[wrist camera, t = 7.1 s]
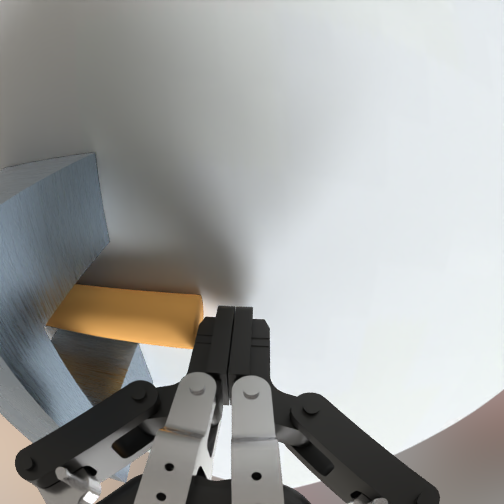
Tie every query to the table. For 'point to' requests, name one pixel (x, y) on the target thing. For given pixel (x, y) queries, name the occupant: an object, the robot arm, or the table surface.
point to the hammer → (131, 315)
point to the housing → (53, 298)
